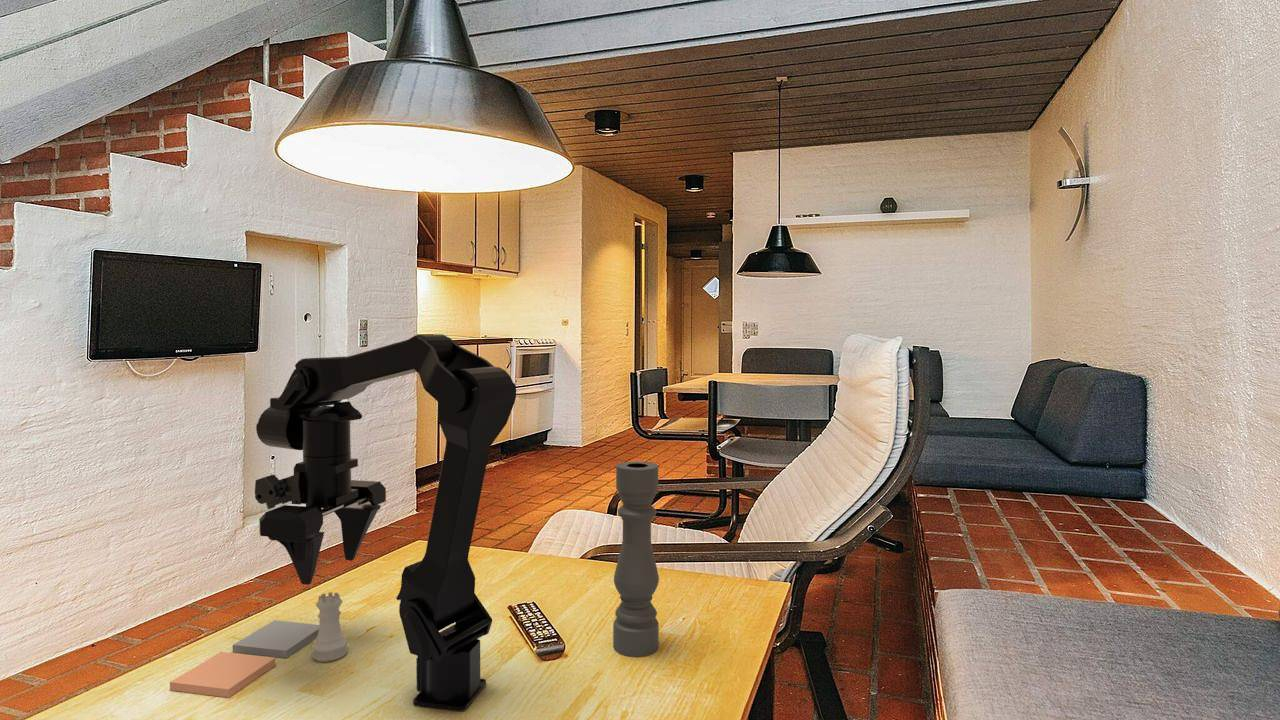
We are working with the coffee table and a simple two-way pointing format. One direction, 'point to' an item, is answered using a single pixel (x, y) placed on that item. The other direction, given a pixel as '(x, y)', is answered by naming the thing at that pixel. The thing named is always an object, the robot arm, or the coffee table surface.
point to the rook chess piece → (329, 630)
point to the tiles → (246, 659)
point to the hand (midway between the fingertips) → (329, 571)
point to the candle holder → (636, 561)
